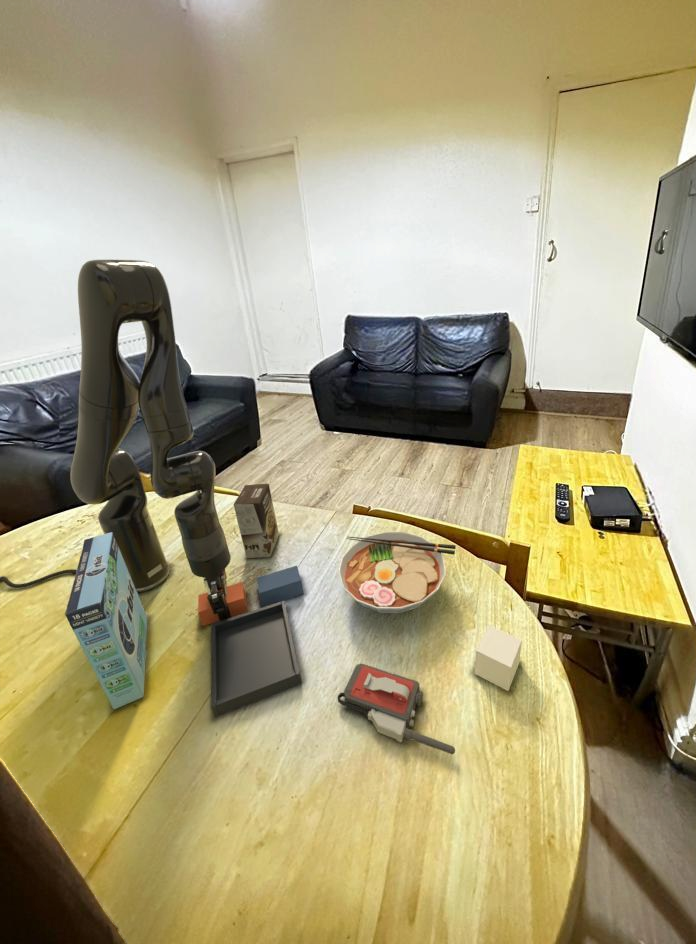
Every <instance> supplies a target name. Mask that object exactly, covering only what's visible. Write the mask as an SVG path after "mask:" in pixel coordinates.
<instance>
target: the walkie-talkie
mask: <svg viewBox="0 0 696 944" xmlns="http://www.w3.org/2000/svg"><path fill="white" fill-rule="evenodd" d="M423 696H424V693H423V691H422V690H421V689H420V683H419V681H417V680H414V679H411V678H408V677H405V676H402V675H399V674H396V673H392V672H389V671H386V670H383V669H380V668H377V667H374V666H371V665H368V664H365V663H363V662H361V663H357V664H356V665H355V666H354V669H353V671H352V673H351V676H350V678H349V679H348V682H347V684H346V686H345V688H344V691H343V692H340V693H339V694H338V695H337V702H338V703H339V704H340V705H342V706H344V707H347V708H349V709H352V710H355V711H357V712H360V713H363V714H364V716H366V717H367V720H369V721H371V722H372V724H373V725H374V727H375V729H376V731H377V733H379V734H381V735H384V736H387V737H389V738H392V739H395V740H396V741H397V742H399V743H403V740H404V739H407V740H408V741H411V740H412V741H415V742H417V743H419V744H423V745H425V746H428V747H430V748H432V749H436V750H439V751H442V752H444V753H447V754H450V755H455V753H456V748H455V747H454V746H453V745H451V744H448V743H445V742H442V741H440V740H438V739H435V738H432V737H429V736H427V735H424V734H421V733H418V732H416V731H414V730H413V729H411V727H414V724H415V720H414V719H413V718H415V716H416V711H415V710H416V706H418V707H420V706H421V704H422V702H423ZM342 697H343V698H344V700H342Z"/></svg>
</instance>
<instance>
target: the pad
mask: <svg viewBox="0 0 696 944" xmlns="http://www.w3.org/2000/svg"><path fill="white" fill-rule="evenodd" d="M219 591H223V589H221V590H219ZM219 591H218V592H219ZM207 597H208V591H207V592H204V593H200V594H198V602H197V603H198V604H197V614H198V617H199V619H200V622H201V626H202V627H205V626H208V625H211V624H213V623H216V622H219V621H220V620H219V617H218V614H215V615H214V613H213V610H212V608H211V606H210V603H209V601H208V599H207ZM226 599H227V602H228V608H229V611H230V614H231V617H235V616H238V615H241V614H244V613H247V612H249V611H248V601H247V593H246V590H245V586H244V582H243V581H240V582H237V583H233V584H230V585H227V595H226Z"/></svg>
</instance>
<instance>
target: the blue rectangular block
mask: <svg viewBox="0 0 696 944" xmlns="http://www.w3.org/2000/svg"><path fill="white" fill-rule="evenodd" d="M256 582H257V584H256V585H257V591H258V596H259V600H260V605H261V608H262V607H265V606H269V605H272V604H275V603H278V602H281V601H286V600H289V599H291V598H292V599H293V598H294V597H297V596H301V595H304V594H305V593H304V588H303V584H302V578H301V575H300V571H299V568H298V565H294V566H291V567H287V568H284V569H281V570H277V571H274V572H271V573H267V574H264V575H260V576H257V577H256Z"/></svg>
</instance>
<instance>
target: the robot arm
mask: <svg viewBox="0 0 696 944" xmlns="http://www.w3.org/2000/svg"><path fill="white" fill-rule="evenodd" d="M77 300H78V302H77V303H78V315H79V327H80V328H79V329H80V343H81V345H80V346H81V352H80V353H81V354H80V355H81V356H80V360H81V361H80V378H79V388H78V389H79V390H78V422H77V434H76V441H75V442H76V443H75V447H74V453H73V457H72V462H71V466H70V474H69V475H70V485H71V488H72V490H73V492H74V494H75V495H76V496H77V498H78V499H79V500H80V501H81V502H83V503H85V504H88V505H92V506H95V505H101V504H103V503H106V504H105V505H104V506H103V507H102V509H101V510H100V511H99V513H98V516H97V517H98V518H97V520H98V523H99V525H100V528H101V530H102V532H103V534H107V533H111V532H113V535H114V538H115V540H116V542H117V545H118V547H119V550H120V552H121V555H122V557H123V559H124V562H125V564H126V567H127V569H128V572H129V574H130V577H131V579H132V582H133V584H134V587H135V589H136V591H137V593H143V592H147V591H150V590H153V589H154V588H156V587H157V586H159V585H161V584H162V583H163V582H164V581H166V579H167V578H168V576H170V572H171V569H170V566H169V564H168V561H167V559H166V556H165V553H164V550H163V548H162V545H161V542H160V539H159V537H158V534H157V531H156V528H155V525H154V523H153V520H152V517H151V515H150V512H149V508H148V496H147V494H146V490H145V486H144V483H143V479H142V476H141V472H140V470H139V467H138V465H137V463H136V461H135V459H134V458H133V456H132V455H131V454H130V453H129V452H127V451H125V449H122V448H119V447H120V445H121V444H122V442H123V441H124V440H125V438H126V437H127V435H128V434H129V432H130V431H131V430H132V428H133V426H134V424H135V422H136V420H137V419H138V415H139V411H140V415H141V417H142V420H143V424H144V426H145V430H146V433H147V436H148V440H149V446H150V459H151V460H150V463H151V464H150V483H151V484H150V485H151V487H152V490H153V492H154V493H155V494H157V496H158V497H160V498H162V499H165V500H170V499H175V498H178V497H181V496H185V495H187V494H192V493H194V492H195V493H194V494H192V495H190V496H188V497H187V498H185V499H183V500H182V501H180V502H179V503H178V504H177V505H176V506H175V508H174V513H173V514H174V517H175V521H176V524H177V527H178V531H179V534H180V536H181V543H182V547H183V550H184V553H185V556H186V559H187V562H188V565H189V568H190V571H191V573H192V574H193V575H194V576H196V577H197V578H198V577H199V578H203V584H204V587H205V588H206V591H207V592H208V597H207V599H208V601H209V603H210V606H211V608H212V610H213V613H214V615H215V614H218V617H219V620H220V621H222V620H225V619H228V618H231V614H230V611H229V608H228V602H227V599H226V595H227V586H228V580H227V578H228V577H227V572H226V568H227V567H228V566H229V564H230V562H231V559H232V557H231V553H230V549H229V546H228V543H227V542H228V541H227V538H226V535H225V532H224V529H223V526H222V525H221V522H220V519H219V515H218V512H217V507H216V504H215V483H216V464H215V462H214V461H215V460H214V459H213V458H212V457H211V455H210V454H208V452H206V451H203V450H195V451H191V452H188V453H183V454H180V455H176V456H172V457H168V456H169V454H170V452H171V451H172V450H173V449H175V448H176V447H178V446H181V445H183V444H185V443H187V442H188V441H190V440H191V439H192V438H193V437H194V434H195V433H194V432H195V431H194V428H193V423H192V420H191V416H190V413H189V410H188V406H187V402H186V399H185V395H184V392H183V388H182V382H181V378H180V370H179V363H178V352H177V342H176V333H175V326H174V317H173V310H172V309H173V308H172V301H171V296H170V292H169V288H168V284H167V282H166V279H165V277H164V275H163V274H162V272H161V271H160V269H159V268H158V267H157V266H156V265H154V264H153V263H151V262H149V261H146V260H142V259H141V260H140V259H92V260H87V261H86V262H84V263H83V264H82V265H81V267H80V270H79V272H78V278H77ZM137 322H138V323H139V322H141V324H142V328H143V331H144V335H145V341H146V351H145V359H144V362H143V368H142V372H141V376H140V379H139V377H138V375H137V373H136V372H135V371H134V369H133V368H132V367H131V365H130V364H129V363H128V361H127V360H126V359H125V357H124V356H123V355H122V353H121V351H120V347H119V345H120V344H119V335H120V329H121V326H122V325H123V324H128V323H137ZM76 571H77V569H73V568H72V569H70V568H69V569H63V570H60V571H56V572H53V573H50V574H48V575H45V576H42V577H40V578H38V579H35V580H31V581H29V582H24V583H14V582H12V581H10V580H9V579H8V578H7V577H6V576H3V575H2V576H0V582H3V583H4V584H5V585H6V586H8V587H9V588H13V589H22V588H27V587H30V586H34V585H37V584H39V583H41V582H45V581H47V580H49V579H51V578H54V577H57V576H61V575H66V574H76ZM221 589H223V591H219V590H221ZM218 591H219V592H218Z"/></svg>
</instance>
